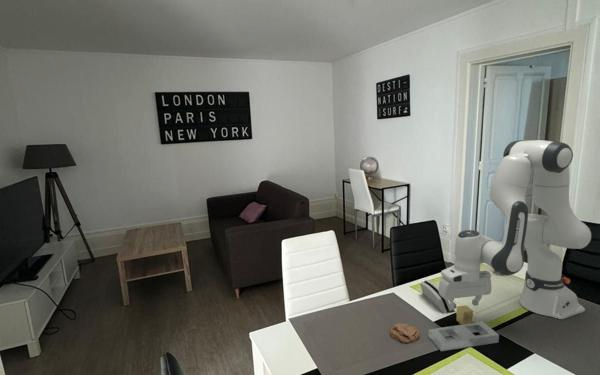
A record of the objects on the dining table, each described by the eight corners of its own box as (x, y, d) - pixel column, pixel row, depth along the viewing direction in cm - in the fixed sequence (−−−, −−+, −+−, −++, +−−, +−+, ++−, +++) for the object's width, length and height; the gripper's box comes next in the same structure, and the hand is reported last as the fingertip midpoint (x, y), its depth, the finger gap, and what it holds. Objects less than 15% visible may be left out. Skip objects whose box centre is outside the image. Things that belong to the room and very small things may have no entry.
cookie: (424, 341, 115) (424, 334, 114) (397, 346, 113) (397, 338, 113) (410, 325, 124) (411, 318, 124) (385, 329, 123) (385, 322, 122)
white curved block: (455, 312, 131) (449, 292, 129) (445, 317, 131) (439, 297, 129) (432, 292, 147) (426, 274, 145) (423, 296, 147) (417, 278, 145)
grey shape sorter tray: (482, 328, 120) (482, 321, 119) (498, 342, 112) (499, 334, 111) (428, 336, 117) (428, 329, 116) (441, 351, 109) (441, 343, 108)
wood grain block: (465, 318, 126) (466, 305, 125) (472, 324, 122) (473, 310, 121) (456, 320, 126) (457, 306, 125) (462, 326, 122) (463, 312, 121)
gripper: (484, 266, 125) (482, 299, 127) (437, 271, 122) (435, 304, 124) (497, 273, 119) (494, 307, 121) (447, 278, 115) (445, 313, 118)
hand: (464, 306), depth 122 cm, fingers open, 8 cm apart
